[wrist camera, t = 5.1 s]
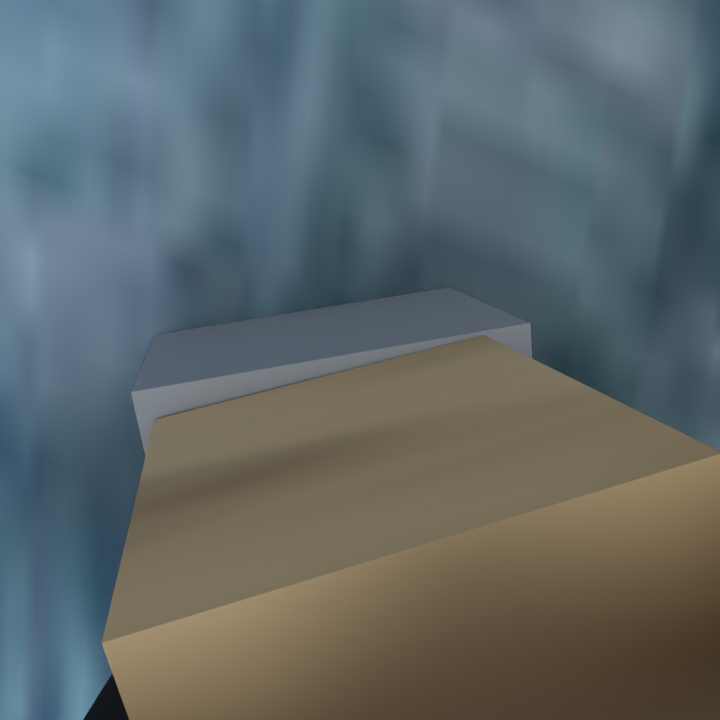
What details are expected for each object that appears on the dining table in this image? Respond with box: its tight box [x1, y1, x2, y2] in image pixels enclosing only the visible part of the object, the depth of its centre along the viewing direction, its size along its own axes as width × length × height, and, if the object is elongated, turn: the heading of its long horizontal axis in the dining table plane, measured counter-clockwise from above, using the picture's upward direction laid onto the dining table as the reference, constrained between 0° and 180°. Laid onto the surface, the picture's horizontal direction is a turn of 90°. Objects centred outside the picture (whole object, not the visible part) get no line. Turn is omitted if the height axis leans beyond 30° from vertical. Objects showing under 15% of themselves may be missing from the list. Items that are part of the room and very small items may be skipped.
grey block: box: [131, 287, 532, 457], centre depth 13 cm, size 6×6×4 cm
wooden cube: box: [102, 335, 720, 720], centre depth 8 cm, size 5×5×5 cm
